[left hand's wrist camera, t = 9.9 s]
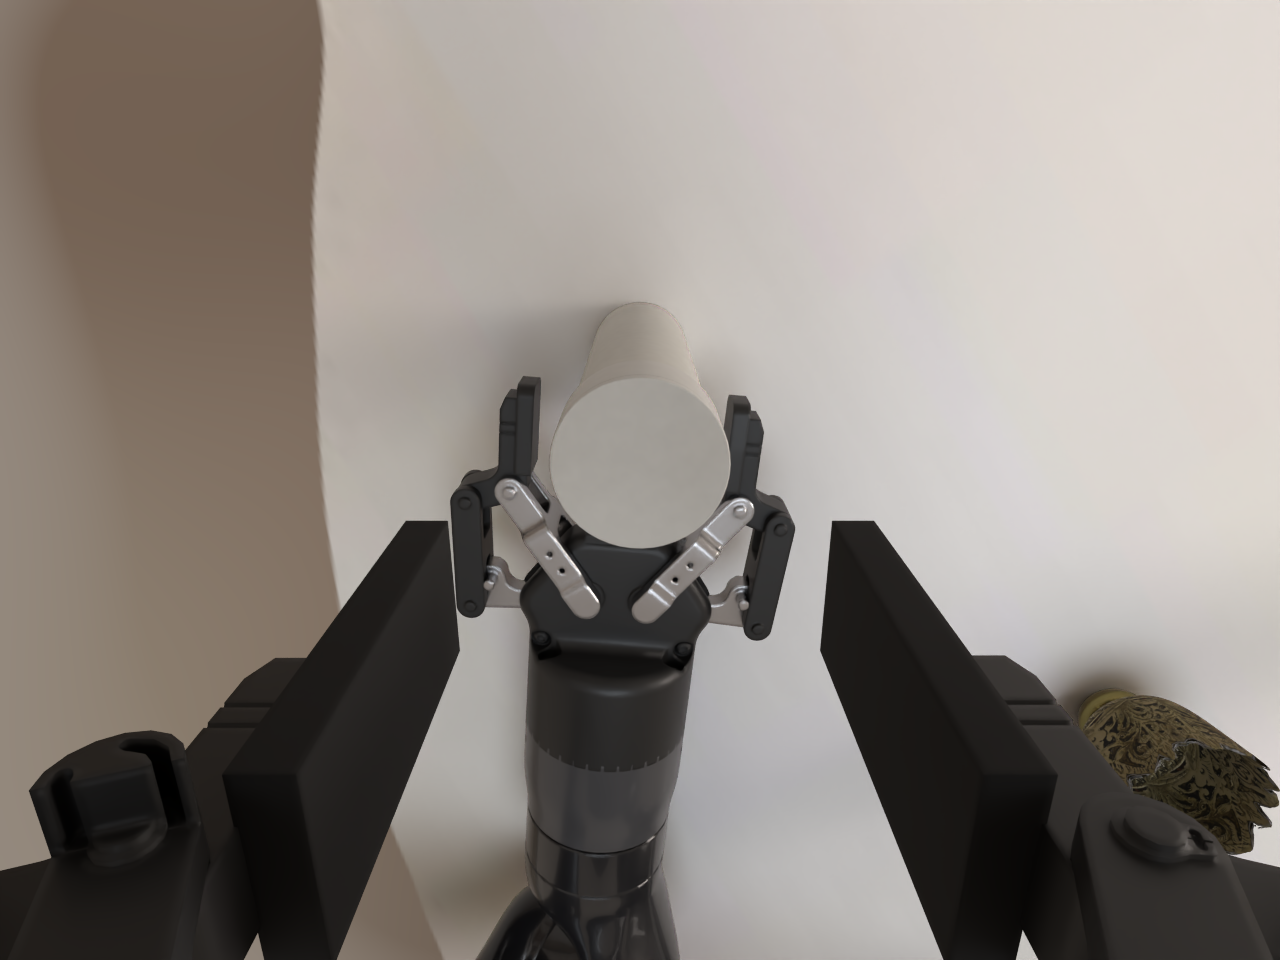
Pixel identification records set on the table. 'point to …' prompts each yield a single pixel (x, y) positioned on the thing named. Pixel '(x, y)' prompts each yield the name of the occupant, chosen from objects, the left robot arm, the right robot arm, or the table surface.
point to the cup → (1181, 763)
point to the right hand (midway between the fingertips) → (634, 389)
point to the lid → (639, 455)
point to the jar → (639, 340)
